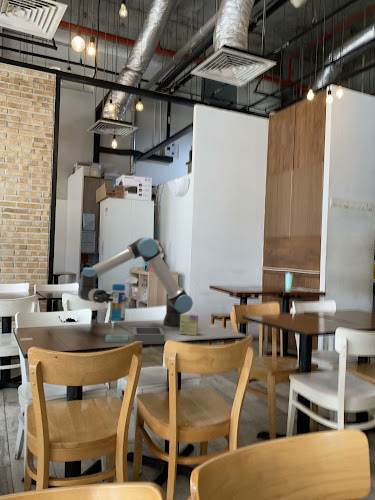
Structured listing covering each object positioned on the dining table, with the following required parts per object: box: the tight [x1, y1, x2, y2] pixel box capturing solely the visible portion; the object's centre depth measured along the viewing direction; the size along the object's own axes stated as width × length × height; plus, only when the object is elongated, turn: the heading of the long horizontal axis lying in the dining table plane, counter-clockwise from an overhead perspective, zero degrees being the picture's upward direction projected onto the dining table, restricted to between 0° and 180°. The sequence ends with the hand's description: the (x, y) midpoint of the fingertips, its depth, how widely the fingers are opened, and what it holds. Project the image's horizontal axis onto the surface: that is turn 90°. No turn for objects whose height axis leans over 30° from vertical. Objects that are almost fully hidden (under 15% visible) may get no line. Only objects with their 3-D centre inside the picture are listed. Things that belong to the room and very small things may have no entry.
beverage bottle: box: [109, 283, 127, 323], centre depth 220 cm, size 8×8×20 cm
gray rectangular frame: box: [132, 326, 165, 345], centre depth 222 cm, size 16×20×5 cm
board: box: [104, 334, 129, 343], centre depth 220 cm, size 12×12×2 cm
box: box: [179, 313, 199, 336], centre depth 241 cm, size 10×6×12 cm, turn 84°
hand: (123, 300), depth 216 cm, fingers closed on beverage bottle, 8 cm apart
